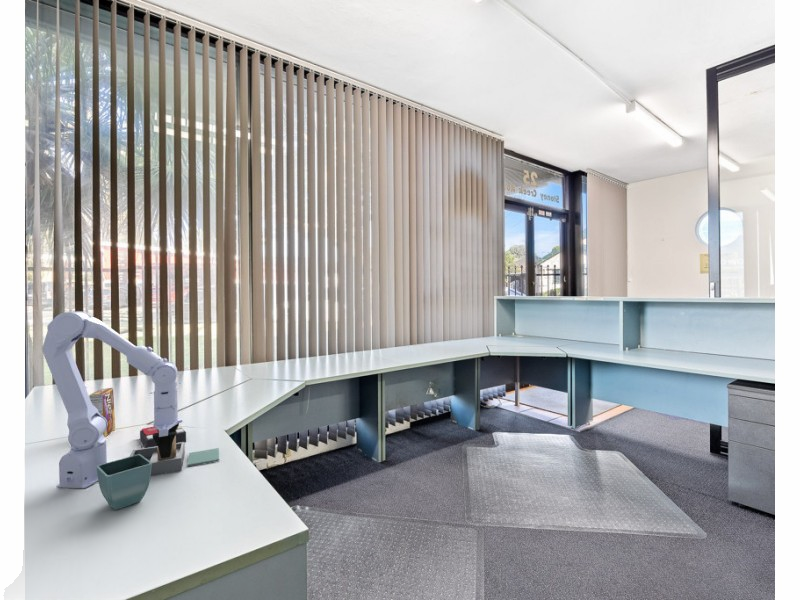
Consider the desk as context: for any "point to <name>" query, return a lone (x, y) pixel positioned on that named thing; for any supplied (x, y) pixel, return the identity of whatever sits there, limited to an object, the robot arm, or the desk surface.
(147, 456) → the organiser box
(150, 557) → the desk surface
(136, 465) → the flower pot
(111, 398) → the candy box
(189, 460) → the mat
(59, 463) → the robot arm
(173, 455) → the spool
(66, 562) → the desk surface
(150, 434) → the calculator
